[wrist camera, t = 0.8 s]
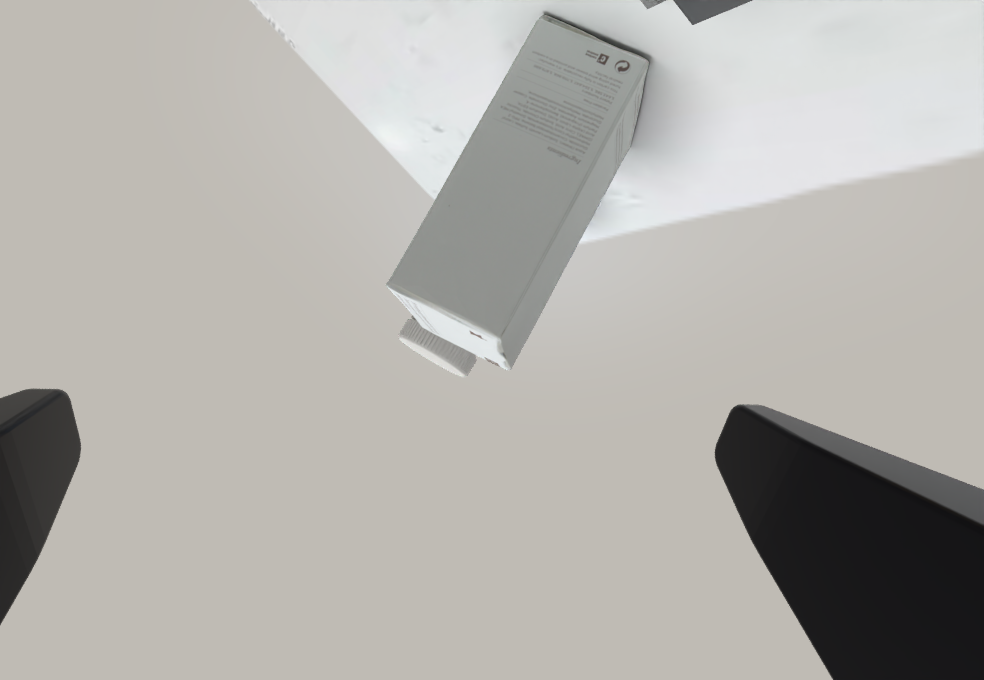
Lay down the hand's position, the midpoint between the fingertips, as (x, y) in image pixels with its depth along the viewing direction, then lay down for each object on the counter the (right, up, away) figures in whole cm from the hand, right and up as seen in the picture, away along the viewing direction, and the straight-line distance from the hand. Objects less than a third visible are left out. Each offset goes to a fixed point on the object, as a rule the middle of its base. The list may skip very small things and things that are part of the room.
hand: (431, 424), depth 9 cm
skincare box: (+6, +14, +25) cm, 29 cm away
